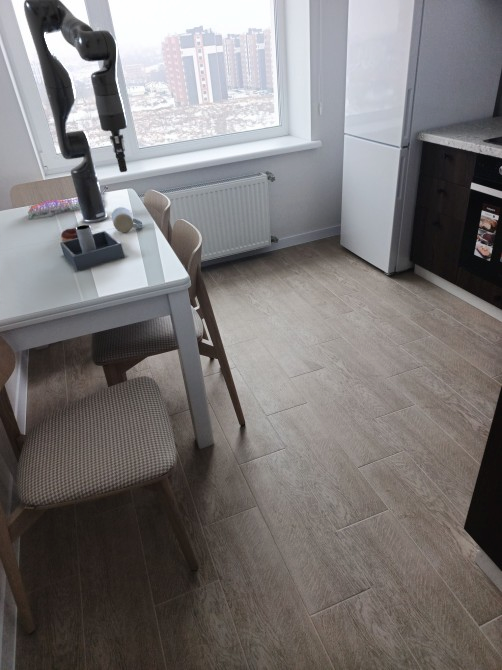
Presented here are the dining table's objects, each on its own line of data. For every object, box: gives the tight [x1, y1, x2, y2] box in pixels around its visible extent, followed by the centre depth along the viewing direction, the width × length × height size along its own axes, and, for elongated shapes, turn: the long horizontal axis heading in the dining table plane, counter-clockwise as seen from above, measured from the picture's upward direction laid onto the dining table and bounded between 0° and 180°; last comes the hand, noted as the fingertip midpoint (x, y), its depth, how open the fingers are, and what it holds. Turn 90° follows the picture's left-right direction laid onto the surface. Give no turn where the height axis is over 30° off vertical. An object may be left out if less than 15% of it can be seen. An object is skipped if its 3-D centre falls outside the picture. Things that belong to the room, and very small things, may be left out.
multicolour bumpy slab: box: [27, 197, 81, 220], centre depth 207 cm, size 30×15×5 cm, turn 104°
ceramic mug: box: [111, 206, 144, 233], centre depth 177 cm, size 11×8×8 cm
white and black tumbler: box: [75, 224, 96, 253], centre depth 154 cm, size 4×4×10 cm
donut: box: [60, 227, 78, 242], centre depth 171 cm, size 10×10×4 cm
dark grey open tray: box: [59, 230, 125, 272], centre depth 156 cm, size 17×16×5 cm
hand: (123, 168), depth 147 cm, fingers open, 8 cm apart
